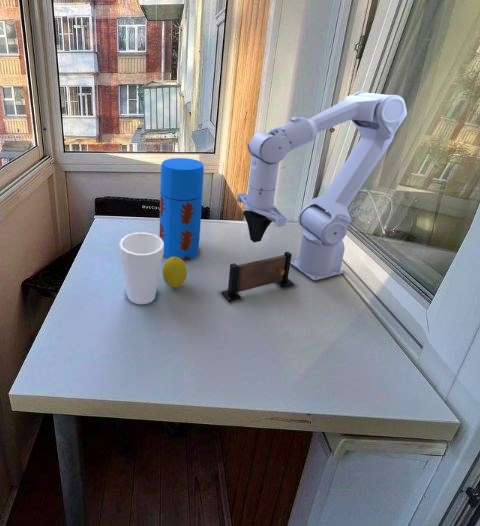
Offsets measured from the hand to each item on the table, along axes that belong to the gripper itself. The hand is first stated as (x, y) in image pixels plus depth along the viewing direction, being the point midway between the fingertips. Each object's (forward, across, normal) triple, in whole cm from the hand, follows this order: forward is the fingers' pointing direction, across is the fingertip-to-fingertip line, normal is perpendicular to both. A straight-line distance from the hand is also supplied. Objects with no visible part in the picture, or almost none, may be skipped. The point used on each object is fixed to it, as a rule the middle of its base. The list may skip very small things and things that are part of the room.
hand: (255, 240), depth 78 cm
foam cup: (+10, -2, -28) cm, 30 cm away
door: (+8, +6, -2) cm, 10 cm away
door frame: (+9, +5, -2) cm, 11 cm away
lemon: (+10, -2, -20) cm, 22 cm away
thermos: (+10, -16, -12) cm, 22 cm away
